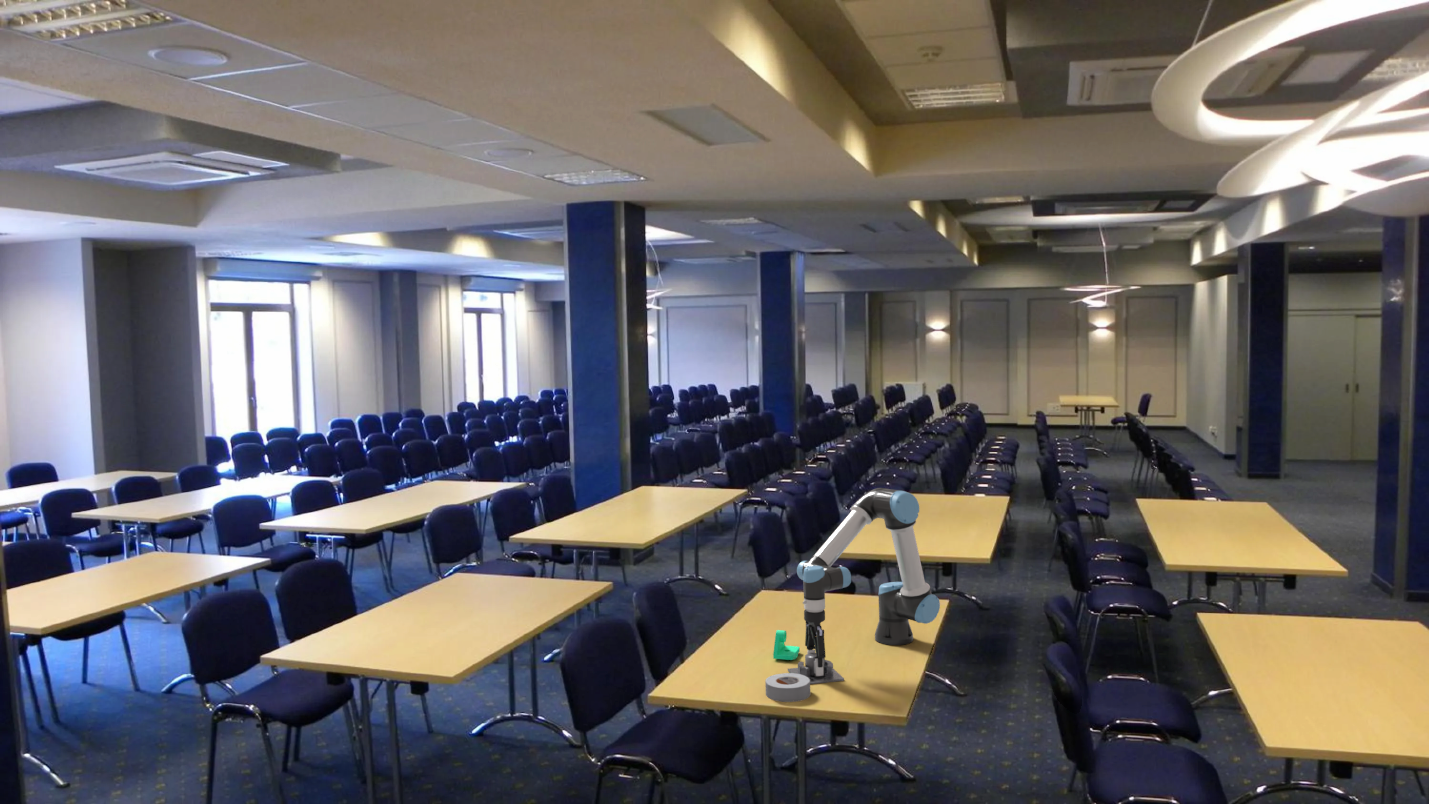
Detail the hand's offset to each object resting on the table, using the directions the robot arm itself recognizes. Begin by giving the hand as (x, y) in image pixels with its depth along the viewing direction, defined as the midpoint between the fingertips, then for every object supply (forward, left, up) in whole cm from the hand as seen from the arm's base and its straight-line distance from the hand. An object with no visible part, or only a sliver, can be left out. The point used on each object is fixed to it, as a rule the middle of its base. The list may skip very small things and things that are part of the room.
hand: (815, 671), depth 362 cm
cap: (0, 0, 0) cm, 0 cm away
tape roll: (+15, +15, -2) cm, 21 cm away
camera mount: (+4, -24, -2) cm, 24 cm away
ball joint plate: (0, 0, -2) cm, 2 cm away
